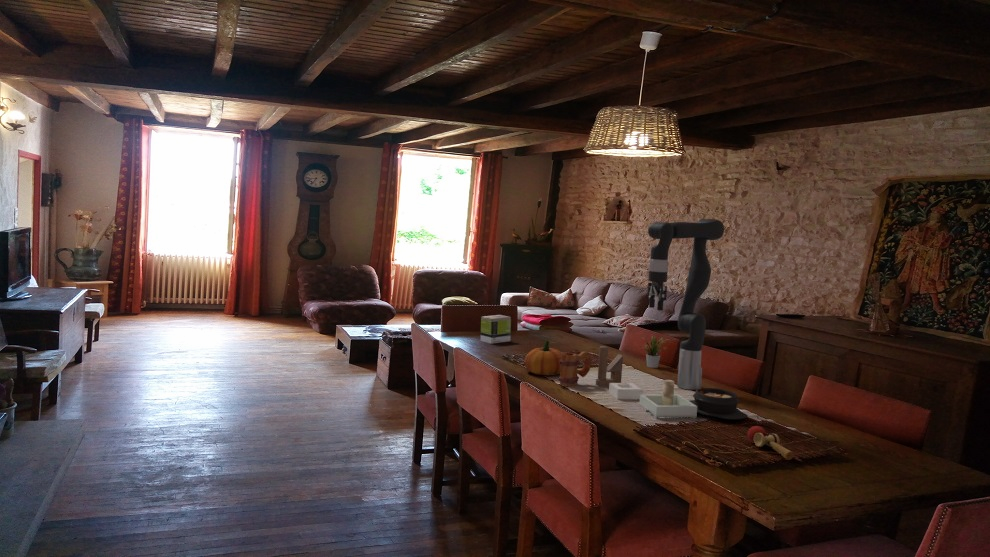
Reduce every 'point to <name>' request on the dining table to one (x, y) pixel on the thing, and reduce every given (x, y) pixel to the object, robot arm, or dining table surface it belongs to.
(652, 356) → the house plant
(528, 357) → the pumpkin
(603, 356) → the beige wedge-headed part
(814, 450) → the dining table surface
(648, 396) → the tray
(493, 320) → the tea box
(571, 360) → the mug
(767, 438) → the kendama
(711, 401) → the casserole
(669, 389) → the dowel
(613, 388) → the holder
